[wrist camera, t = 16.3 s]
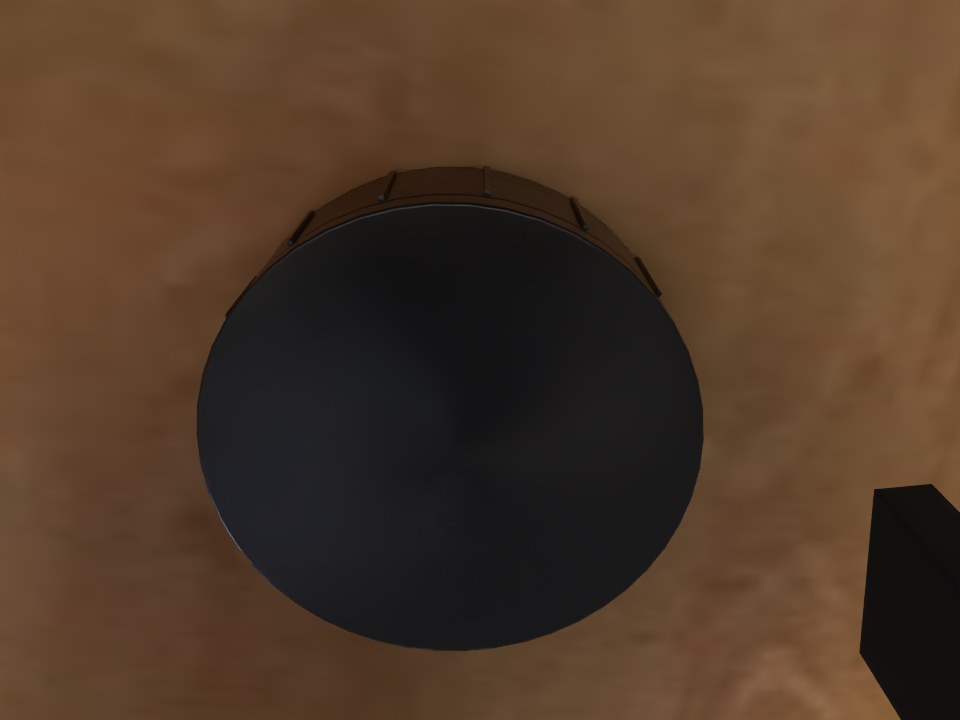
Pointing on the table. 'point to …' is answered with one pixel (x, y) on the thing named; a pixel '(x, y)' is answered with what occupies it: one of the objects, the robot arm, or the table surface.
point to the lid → (450, 413)
